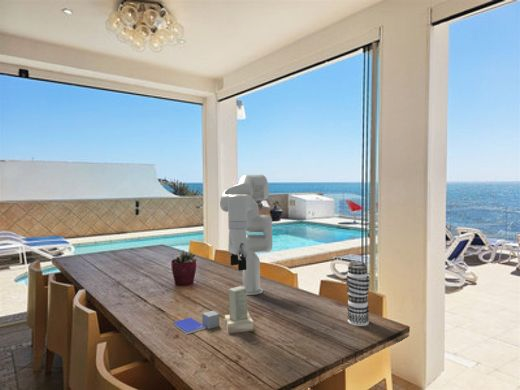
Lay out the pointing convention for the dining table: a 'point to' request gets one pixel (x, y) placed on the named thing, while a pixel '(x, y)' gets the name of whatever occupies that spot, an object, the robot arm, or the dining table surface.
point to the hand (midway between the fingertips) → (238, 267)
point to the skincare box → (238, 303)
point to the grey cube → (210, 319)
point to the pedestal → (238, 324)
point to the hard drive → (189, 325)
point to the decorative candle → (357, 293)
